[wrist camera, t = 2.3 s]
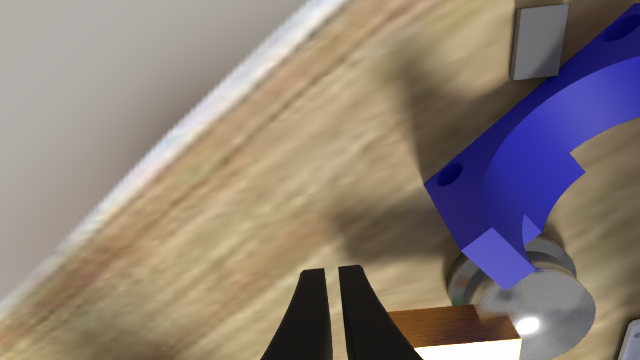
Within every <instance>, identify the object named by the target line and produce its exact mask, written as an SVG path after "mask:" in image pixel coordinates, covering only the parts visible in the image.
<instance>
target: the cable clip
mask: <svg viewBox="0 0 640 360" xmlns="http://www.w3.org/2000/svg"><path fill="white" fill-rule="evenodd" d="M638 117H640V3H635V4H634V5H633V6H632V7H630V8H629V9H628V10H627V11H626V12H625V13H623V14H622V15H621V16H620V17H619V18H618V19H616V20H615V21H614V22H613V23H612V24H611V25H609V26H608V27H607V28H606V29H605V30H604V31H602V32H601V33H600V34H599V35H598V36H597V37H595V38H594V39H593V40H592V41H591V42H590V43H588V44H587V45H586V46H585V47H584V48H583V49H581V50H580V51H579V52H578V53H577V54H576V55H574V56H573V57H572V58H571V59H570V60H569V61H567V62H566V63H565V64H564V65H563V66H562V67H560V68H559V74H558V76H550V77H549V78H548V79H546V80H545V81H544V82H543V83H542V84H540V85H539V86H538V87H537V88H536V89H535V90H533V91H532V92H531V93H530V94H529V95H528V96H526V97H525V98H524V99H523V100H522V101H521V102H519V103H518V104H517V105H516V106H515V107H514V108H512V109H511V110H510V111H509V112H508V113H507V114H505V115H504V116H503V117H502V118H501V119H500V120H498V121H497V122H496V123H495V124H494V125H493V126H491V127H490V128H489V129H488V130H487V131H486V132H484V133H483V134H482V135H481V136H480V137H479V138H477V139H476V140H475V141H474V142H473V143H472V144H470V145H469V146H468V147H467V148H466V149H465V150H463V151H462V152H461V153H460V154H459V155H458V156H456V157H455V158H454V159H453V160H452V161H451V162H449V163H448V164H447V165H446V166H445V167H444V168H442V169H441V170H440V171H439V172H438V173H437V174H435V175H434V176H433V177H432V178H431V179H430V180H428V181H427V182H426V183H425V184H424V186H425V188H426V190H427V192H428V193H429V195H430V197H431V199H432V200H433V202H434V204H435V206H436V208H437V209H438V211H439V213H440V215H441V216H442V218H443V220H444V222H445V224H446V225H447V227H448V229H449V231H450V232H451V234H452V236H453V238H454V240H455V241H456V243H457V245H458V247H459V248H460V250H461V251H462V252H463V253H464V254H465V255H466V256H467V257H468V258H469V259H470V260H471V261H473V262H474V263H475V264H476V265H477V266H478V267H479V268H480V269H481V270H483V271H484V272H485V273H486V274H487V275H488V276H489V277H490V278H491V279H493V280H494V281H495V282H496V283H497V284H498V285H499V286H500V287H501V288H502V289H504V290H505V291H506V290H507V289H509V288H510V287H512V286H513V285H515V284H516V283H517V282H519V281H520V280H522V279H523V278H525V277H526V276H527V275H529V274H530V273H532V272H533V271H535V270H536V269H535V268H534V266H533V265H532V263H531V262H530V260H529V258H528V256H527V254H526V251H525V248H524V245H526V244H527V243H528V242H530V241H531V240H532V239H534V238H535V237H537V236H538V235H539V234H541V233H542V231H543V228H544V225H545V222H546V219H547V217H548V215H549V213H550V211H551V209H552V208H553V206H554V204H555V203H556V202H557V200H558V199H559V197H560V196H561V195H562V194H563V193H564V192H565V190H566V189H567V188H568V187H569V186H570V185H571V184H572V183H573V182H574V181H576V180H577V179H578V178H579V177H580V176H581V175H583V174H584V173H585V171H584V170H583V169H582V168H581V166H580V165H579V164H578V163H577V162H576V160H575V159H574V158H573V157H572V156H571V155H570V153H569V152H571V151H572V150H573V149H575V148H576V147H578V146H579V145H581V144H582V143H584V142H585V141H587V140H589V139H590V138H592V137H594V136H595V135H597V134H599V133H601V132H603V131H605V130H607V129H609V128H612V127H614V126H616V125H618V124H621V123H624V122H626V121H629V120H632V119H635V118H638Z"/></svg>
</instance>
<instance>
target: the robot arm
mask: <svg viewBox="0 0 640 360" xmlns="http://www.w3.org/2000/svg"><path fill="white" fill-rule="evenodd" d="M338 270H339V281H340V291H341V300H342V310H343V320H344V329H345V339H346V349H347V355H348V360H424V359H423V358H422V357H421V355H420V354H419V353H418V352H417V351H416V350H415V349H414V347H413V346H412V345H411V344H410V343H409V341H408V340H407V339H406V338H405V336H404V335H403V334H402V332H401V331H400V330H399V328H398V327H397V326H396V324H395V323H394V322H393V320H392V319H391V318H390V316H389V315H388V313H387V312H386V310H385V309H384V307H383V306H382V304H381V303H380V301H379V299H378V298H377V296H376V294H375V293H374V291H373V289H372V287H371V285H370V283H369V282H368V279H367V277H366V275H365V273H364V270H363V268H362V267H361V266H360V265H351V266H341V267H338ZM260 360H333V349H332V335H331V321H330V312H329V304H328V296H327V288H326V279H325V271H324V268H320V269H309V270H303V271H302V272H301V273H300V277H299V281H298V284H297V287H296V290H295V292H294V295H293V297H292V300H291V302H290V304H289V307H288V309H287V311H286V313H285V315H284V317H283V320H282V322H281V324H280V326H279V328H278V329H277V331H276V333H275V335H274V337H273V339H272V340H271V342H270V344H269V346H268V348H267V349H266V351H265V353H264V354H263V356H262V358H261V359H260ZM618 360H640V319H638V320H634V321H632V322H631V323H630V324H629V326H628V329H627V332H626V335H625V338H624V341H623V345H622V348H621V351H620V354H619V357H618Z"/></svg>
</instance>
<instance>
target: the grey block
mask: <svg viewBox="0 0 640 360" xmlns="http://www.w3.org/2000/svg"><path fill="white" fill-rule="evenodd" d="M568 9H569V4H556V5H547V6H538V7H529V8H520V9H517V15H516V25H515V35H514V44H513V54H512V64H511V74H510V79H512V80H521V79H530V78H540V77H549V76H558V74H559V67H560V61H561V54H562V48H563V41H564V35H565V28H566V22H567V15H568Z"/></svg>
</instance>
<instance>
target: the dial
mask: <svg viewBox="0 0 640 360" xmlns="http://www.w3.org/2000/svg"><path fill="white" fill-rule="evenodd" d="M526 254H527V256H528V258H529V260H530V262H531V263H532V265H533V266H534V268H535V269H536V270H535V271H533V272H532V273H530V274H529V275H527V276H526V277H525V278H523V279H522V280H520V281H519V282H517V283H516V284H515V285H513V286H512V287H510V288H509V289H507V290H506V291H505V290H504V289H502V288H501V287H500V286H499V285H498V284H497V283H496V282H495V281H494V280H493V279H491V278H490V277H489V276H488V275H487V274H486V273H485V272H484V271H483V270H481V269H479V270H478V271H477V272H476V273H475V274H474V276H473V277H472V278H471V279H470V281H469V282H468V284H467V286H466V288H465V291H464V295H463V305H459V306H448V307H437V308H426V309H415V310H404V311H393V312H387V313H388V315H389V316H390V318H391V319H392V320H393V322H394V323H395V324H396V326H397V327H398V328H399V330H400V331H401V332H402V334H403V335H404V336H405V338H406V339H407V340H408V341H409V343H410V344H411V345H412V346H413V347H414V349H415V350H416V351H417V352H418V353H419V354H420V355H421V357H422V358H423V359H424V360H550V359H553V358H555V357H558V356H560V355H562V354H564V353H565V352H567V351H569V350H570V349H572V348H573V347H574V346H576V345H577V344H578V343H579V342H580V341H581V340H582V339H583V338H584V337H585V336H586V334H587V333H588V332H589V330H590V328H591V326H592V324H593V322H594V319H595V303H594V300H593V298H592V296H591V295H590V293H589V292H588V291H587V290H586V288H585V287H584V286H583V285H582V284H581V283H580V282H579V281H578V280H577V278H576V277H575V276H574V275H573V274H572V273H571V272H570V271H569V270H568V269H567V267H566V266H565V265H564V264H563V263H562V262H561V261H560V260H558V259H557V258H556V257H554V256H552V255H550V254H546V253H543V252H538V251H526Z"/></svg>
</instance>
